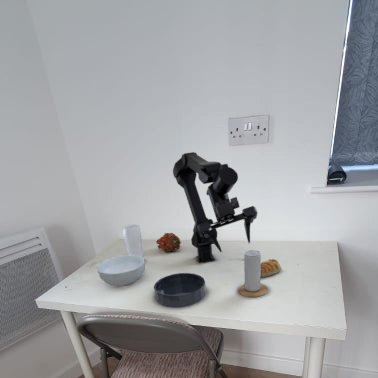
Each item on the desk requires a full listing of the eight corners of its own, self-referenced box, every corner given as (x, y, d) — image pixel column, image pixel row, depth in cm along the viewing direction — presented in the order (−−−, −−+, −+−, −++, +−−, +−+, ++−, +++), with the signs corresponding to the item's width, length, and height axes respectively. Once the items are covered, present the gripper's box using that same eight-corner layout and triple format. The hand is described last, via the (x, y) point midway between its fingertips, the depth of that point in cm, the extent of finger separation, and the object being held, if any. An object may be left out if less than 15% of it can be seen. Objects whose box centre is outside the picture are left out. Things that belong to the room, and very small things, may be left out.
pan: (154, 287, 112) (152, 277, 110) (200, 280, 113) (199, 269, 111) (157, 311, 97) (155, 299, 95) (210, 302, 99) (209, 290, 97)
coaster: (235, 286, 106) (235, 285, 106) (261, 282, 107) (261, 281, 107) (243, 299, 98) (243, 298, 98) (272, 294, 99) (272, 293, 99)
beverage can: (255, 284, 105) (254, 248, 99) (263, 289, 101) (263, 253, 95) (242, 288, 104) (241, 252, 98) (250, 294, 100) (249, 257, 94)
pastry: (264, 280, 108) (264, 269, 106) (249, 274, 113) (249, 264, 111) (282, 270, 113) (283, 260, 111) (267, 266, 117) (267, 256, 116)
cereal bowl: (92, 289, 116) (86, 271, 112) (117, 270, 129) (113, 253, 125) (133, 293, 109) (128, 274, 106) (155, 273, 123) (152, 255, 119)
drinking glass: (126, 265, 133) (118, 229, 126) (134, 258, 138) (127, 223, 131) (140, 266, 130) (133, 229, 123) (148, 259, 136) (142, 224, 128)
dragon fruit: (182, 256, 139) (160, 257, 146) (187, 239, 142) (165, 241, 149) (171, 244, 133) (149, 246, 139) (177, 227, 136) (155, 230, 142)
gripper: (189, 201, 96) (204, 251, 95) (250, 180, 94) (267, 230, 93) (193, 213, 107) (207, 258, 106) (248, 195, 105) (263, 240, 104)
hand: (235, 247), depth 102 cm, fingers open, 9 cm apart
